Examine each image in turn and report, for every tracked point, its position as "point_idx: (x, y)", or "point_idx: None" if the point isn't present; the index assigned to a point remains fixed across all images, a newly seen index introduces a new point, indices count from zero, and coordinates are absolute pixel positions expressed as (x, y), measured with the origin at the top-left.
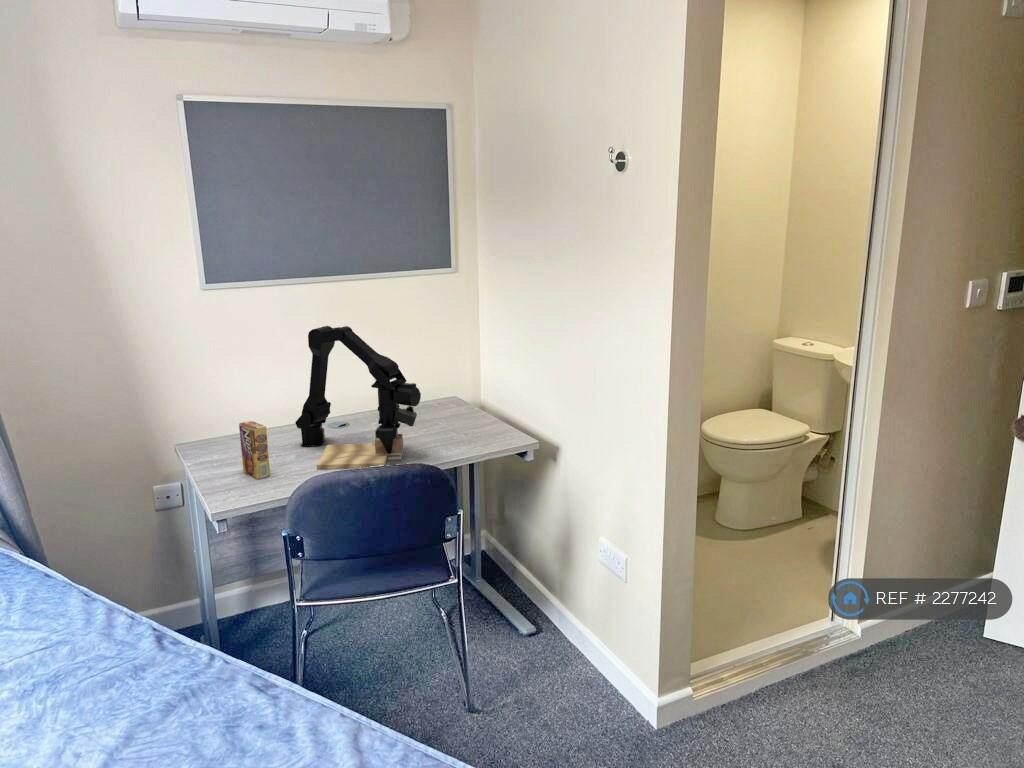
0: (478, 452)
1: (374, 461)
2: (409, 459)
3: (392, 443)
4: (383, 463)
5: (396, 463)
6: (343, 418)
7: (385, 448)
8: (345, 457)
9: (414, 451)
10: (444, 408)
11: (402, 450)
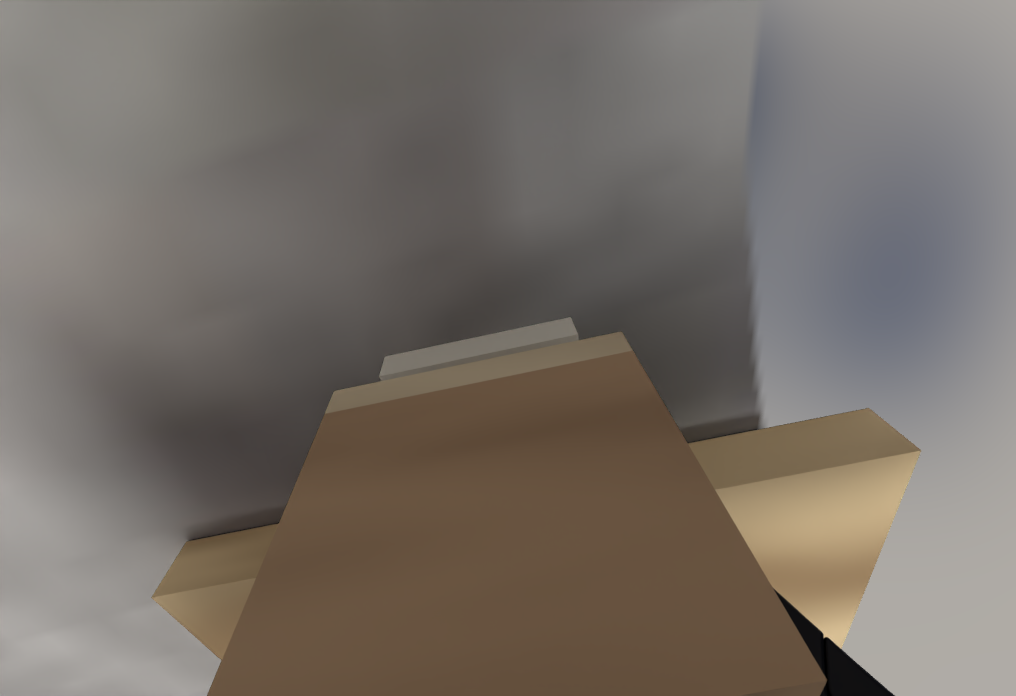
0: None
1: (825, 548)
2: (576, 180)
3: (862, 668)
4: (911, 454)
5: (738, 324)
6: None
7: None
8: None
9: (161, 209)
10: None
11: (517, 375)
